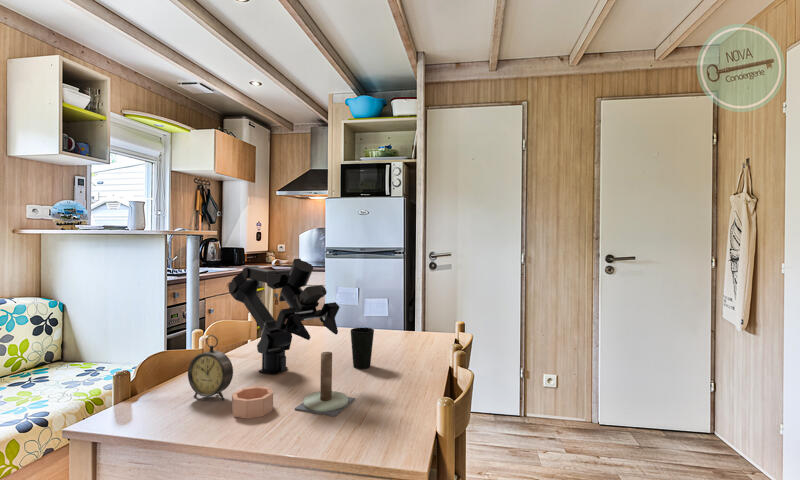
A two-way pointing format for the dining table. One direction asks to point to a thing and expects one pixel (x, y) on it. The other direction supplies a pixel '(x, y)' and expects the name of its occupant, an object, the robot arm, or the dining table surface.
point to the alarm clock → (210, 372)
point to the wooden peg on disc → (325, 390)
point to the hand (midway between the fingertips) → (323, 335)
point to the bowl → (252, 402)
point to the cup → (362, 347)
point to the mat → (331, 413)
